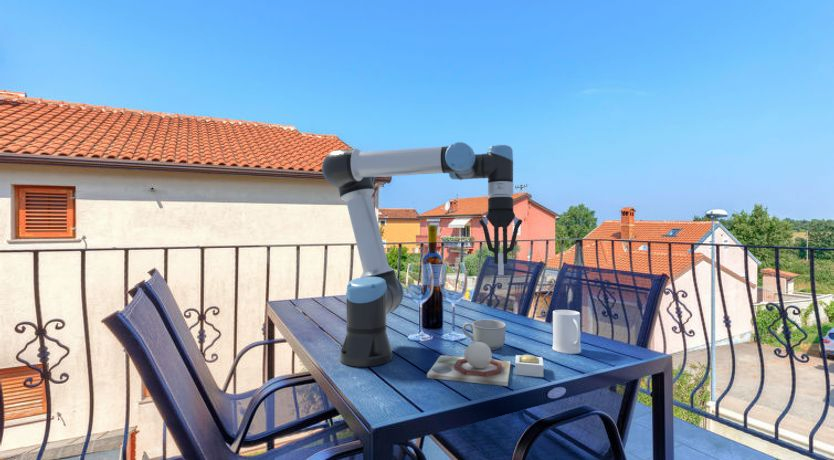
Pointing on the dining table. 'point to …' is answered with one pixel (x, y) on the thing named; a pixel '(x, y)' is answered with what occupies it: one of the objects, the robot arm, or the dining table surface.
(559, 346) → the mug
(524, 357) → the button
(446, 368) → the picture board
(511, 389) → the dining table surface
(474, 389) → the dining table surface
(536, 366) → the button housing
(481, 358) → the white ball
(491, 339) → the teacup
